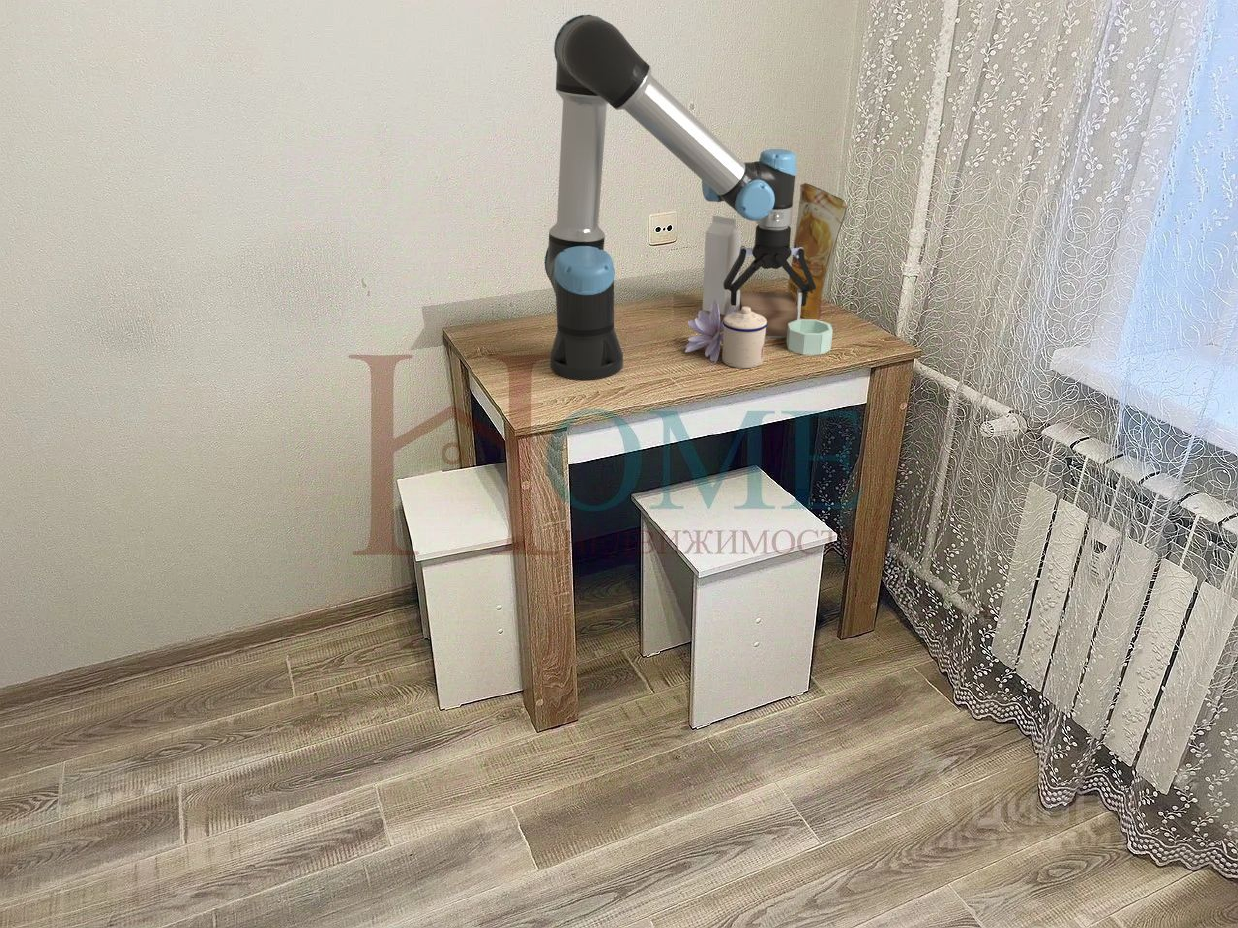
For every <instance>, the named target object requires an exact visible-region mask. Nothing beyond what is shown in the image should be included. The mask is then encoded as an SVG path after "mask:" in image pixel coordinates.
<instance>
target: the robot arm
mask: <svg viewBox="0 0 1238 928" xmlns="http://www.w3.org/2000/svg"><path fill="white" fill-rule="evenodd" d="M555 37H556V38H555V41H554V46H553V49H554V50H553V53H554V59H555V60H556V71H555V72H556V74H555V75H556V76H555V78H556V79H555V83H556V84H555V92H556V93H557V95H558V96H559V97H560V98H561V99H562V116H561V134H560V138H561V139H560V150H559V151H560V152H559V154H560V155H559V174H558V176H559V177H558V190H557V191H558V192H557V193H558V194H557V213H556V214H557V215H556V223H555V224H554V225H552V226H551V227H550V228H549V230H548V244H547V245H548V246H547V249H546V251H545V256H544V269H545V273H546V275H547V278H548V280H549V281H550V283H551V286H552V289H553V291H554V295H555V301H556V302H555V310H556V326H557V327H556V334H555V338H554V340H553V344H552V347H551V351H550V355H549V366H550V369H551V370H552V372H553V373H554V374H557V375H558V376H561V377H563V378H567V379H572V380H580V381H583V380H586V381H589V380H598V379H603V378H608V377H610V376H613V375H616V374H617V373H618V372H620V371H621V370H622V368H623V367H624V353H623V350H622V348H621V345H620V342H619V339H618V337H617V336H618V335H617V333H616V330H615V277H616V276H615V275H616V272H615V271H616V270H615V266H614V260H613V258H612V256H611V254H609V253H608V251H606V250H605V239H606V238H605V237H606V236H605V234H606V233H605V232H604V231H603V230H602V229H601V228H600V226H599V221H600V220H599V219H600V207H601V206H600V205H601V192H602V191H601V190H602V180H603V179H602V178H603V177H602V176H603V165H604V164H603V162H604V149H605V136H606V135H605V134H606V124H607V121H606V120H607V110H608V109H607V108H608V107H607V106H608V104H609V105H610V106H611V107H613V109H614V110H616V111H617V110H618V111H619V110H624V111H625V112H626V113H627V114H628V115H629V116H631V117H632V118H633V119H634V120H635V121H636V122H637V123H639V125H641V126H642V127H643V128H644V129H645V130H646V131H648V132H649V134H650V135H652V136H653V137H654V138H655V139H656V140H657V141H659V142H660V143H661V144H662V145H663V146H664V147H665V148H666V149H667V150H668V151H670V152H671V154H673V155H674V156H675V157H676V158H677V159H679V161H681V162H682V163H683V164H684V165H685V166H686V167H687V168H688V169H689V170H691V171H692V172H693V174H695V175H696V176H697V177H698V178H699V179H700V180H701V191H702V195H703V197H704V199H705V201H707V202H713V203H714V202H716V203H722V202H725V203H726V204H727V205H728V206H729V207H731V208H732V209H733V210H734V211H735V212H736V213H737V214H738V215H739V216H740V217H742V218H743V219H746V220H748V221H750V222H751V221H754V222H756V227H755V235H754V244H753V245H754V246H753V248H749V247H746V246H745V245H740V252H739V256H738V258H737V260H736V261H735V263H734V265H733V267H732V268H731V270H730V272H729V274H728V276H727V277H726V279H725V281H724V283H723V285H724V289H725V290H730V291H731V305H732V306H735V310H734V313H736V312H738V311H739V307H740V292H741V290H740V289H741V288H742V286H744V284H745V283H746V282H747V281H748V280H749V279H750V278H751V277H752V276H753V275H754V274H755V273H756V272H757V271H759V269H760V268H763V270H768V269H773V270H779V268H781V267H782V268H783V270H784V271H785V272H786V273H787V274H788V275H789V278H790V277H791V278H792V279H793V281H794V282H795V283H796V284H797V286H798V287H799V288H800V289H797V298H796V306H797V309H798V317H797V320H798V319H801V316H800V311H801V306H805V305H806V298H807V293H808V291H810V290H815V289H816V286H815V283H814V281H813V278H812V276H811V274H810V271H809V269H808V267H807V264H806V262H805V259H804V250H803V247H802V246H799V247H798V248H794V247H793V248H791V236H792V235H791V233H792V227H791V224H792V220H793V219H792V218H793V207H794V197H795V187H796V176H797V156H796V154H795V152H793V151H791V150H789V149H784V148H783V149H782V148H770V149H765V150H763V151H761V152H760V156H759V159H758V161H753V162H751V161H750V162H743V161H742V160H741V159H740V158H739V157H738V156H737V155H736V154H735V153H733V152H732V151H731V150H730V148H728V146H726V144H724V142H722V141H721V140H720V139H719V138H718V137H717V136H715V134H714V133H712V132H711V130H709V128H707V127H706V126H705V125H704V124H703V123H702V122H701V121H700V120H699V119H698V118H697V117H696V116H695V115H694V114H693V113H691V112H690V110H688V109H687V108H686V107H685V106H684V105H683V103H681V102H680V101H679V100H678V99H677V98H675V96H673V94H671V93H670V92H669V91H668V89H666V88H665V87H664V85H662V84H661V83H660V82H659V81H658V80H657V79H655V77H654V76H653V75H652V68H651V65H649V64H648V63H647V62H646V61H645V59H643V58H642V56H640V55H639V53H637V51H636V50H635V49H634V47H632V45H631V44H630V43H629V42H628V40H627V39H626V37H625V36H624V35H623V34H622V32H620V30H619V29H618V28H617V27H616V26H614V24H612V23H610V22H608V21H606V20H604V19H603V18H602V17H599V16H597V15H592V14H581V15H578V16H574V17H572V18H570V19H569V20H567V21H566V22H565V23H563V25H562V26H561V27H560V29H559V30H558V33H557V34H556V36H555ZM750 255H752V256H753V258H754V259H753V261H751V263H750V264H749V266H748V267H747V268H746V269H745V270H744V271H743V272H742V273H741V274H740V275H739V276H738V279H737V280H736V281H735V282H734V283H733V284H732V282H733V280H734V279H735V277H736V275H737V273H738V272H739V271H740V270H741V268H742V266H743V265H744V262H745V260H746V259H749V257H750ZM793 255H794V256H795V258H798V260H799V262H800V265H801V267H802V269H803V272H804V274H805V276H806V279H807V281H808V284H804V282H803V281H802V280H801V279H800V277H799V276H798V275H797V273H796V272H795V271H794V270H793V268H792V267H791V266H792V265H790V263H789V262H788V260H789V258H790V257H791V256H793Z"/></svg>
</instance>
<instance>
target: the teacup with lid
mask: <svg viewBox="0 0 1238 928" xmlns="http://www.w3.org/2000/svg"><path fill="white" fill-rule="evenodd" d="M723 318H724V317H723ZM722 321H723V325H724V330H723V331H722V334H723V341H724V342H723V344H722V355H721V360H722V362H723V363H724V364H725V365H727V366H729V367H732V368H736V369H752V368H756V367H758V366H761V365H762V364H763V362H764V359H765V358H764V357H765V356H764V355H765V347H766V346H765V344H766V338H765V334H766V326H767V320H766V318H765V317H763V316H762V315H759V314H756V313H754V312H752V311H751V309H750V307H742V308H741V311H738V312H736V313H735V312H734V313H731V314H729V315H727V316H726V317H725V318H724V320H723V319H722Z"/></svg>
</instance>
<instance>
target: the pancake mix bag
mask: <svg viewBox="0 0 1238 928" xmlns="http://www.w3.org/2000/svg"><path fill="white" fill-rule="evenodd" d="M799 186H800V190H799V191H800V195H799V204H798V212H797V219H796V227H795V233H794V240H793V248H798V247H799V246H802V247H803V250H804V259H805V262H806V264H807V267H808V269H809V271H810V274H811V276H812V278H813V281H814V283H815V286H816V289H815V290H810V291H808V293H807V298H806V305H805V306H801V311H800V318H802V319H816V320H820V319H821V315H822V308H821V306H822V297H823V296H822V295H823V289H824V285H825V281H826V278H827V274H828V271H829V267H830V264H831V260H832V256H833V254H834V251H835V247H836V244H837V241H838V238H839V235H840V231H841V228H842V226H843V223H844V221H845V218H846V214H847V209H848V204H847V203H846V202H845V201H844V199H843V198H841V197H838V196H836V195H834V194H831V193H829V192H828V191H826V190H825V189H822V188H819V187H817V186H814V185H813V184H809V183H806V182H804V183H801V184H800V185H799ZM790 266H791V267H792V268H793V270H794V271H795V272H796V273H797V275H798V276H799V277H800V279H801V280H802V281H803V282H804V284H808V281H807V279H806V276H805V274H804V272H803V269H802V267H801V265H800V262H799V260H798V258H795V256H794V255H793V254H792V262H791V265H790ZM787 285H788V286H787V292H792V294H793V297H794V300H795V303H796V298H797V289H800V288H799V287H798V286H797V284H796V283H795V282H794V281H793V279H792V278H791V277H790V276H789V279H788V284H787Z"/></svg>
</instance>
